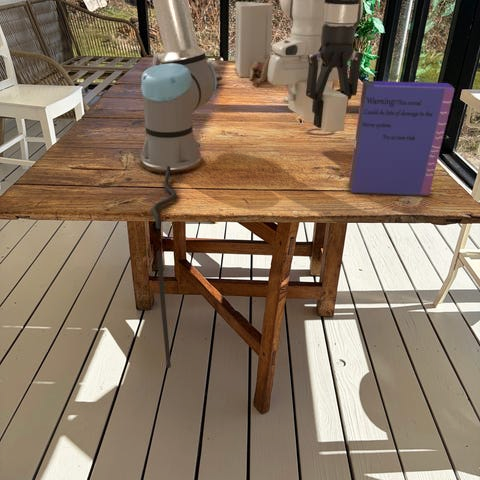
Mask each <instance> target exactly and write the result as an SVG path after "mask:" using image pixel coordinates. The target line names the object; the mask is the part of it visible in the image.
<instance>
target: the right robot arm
mask: <svg viewBox="0 0 480 480" xmlns="http://www.w3.org/2000/svg"><path fill="white" fill-rule="evenodd" d="M279 4H280V9H281V12H282V13H283V14H284V16H285V17H286V18H288V19H289V20H290V22H291V23H292V27H291V30H290V36H289V37H287V38H285V39H282V40H280V41H276V42H274V43H273V44H271V52H272V53H273V54H271V58H270V61H269V66H268V80H267V82H269V84H271V85H272V86H284V88H285V90H286V92H287V95H286V96H285V97H284V101H285V102H288V103H289V101H295V100H296V94H294V93H293V92H292V90H291V88H293V84H298V82H302V81H307V79H308V69H309V61H308V54H310V53H311V54H314V53H316V52H319V49H320V47H321V34H322V26H323V25H324V24H325V22H324V21H323V14H324V4H325V0H279ZM363 13H364V1H363V0H359V6H358V15H357V22H356V23H355V24H354V26H355V27H357V26H358V25H359V24H360V23H361V20H362V17H363ZM319 60H320V61H319V62H318V73H317V80H318V77H319V74H320V71H321V65H322V62H323V61H322V59H321V57H320V59H319ZM358 79H363V77H362V76H361V75H360V74H359V78H358ZM348 80H349V77H348ZM334 82H339V76H338V70H337V67H335V68H333V69H332V72H331V73H330V74H329V77H328V80H327V83H326V86H328V87H330V88H332V89H334ZM335 90H336V91H338V92H340V88H338V89H335Z"/></svg>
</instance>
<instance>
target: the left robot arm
mask: <svg viewBox="0 0 480 480" xmlns="http://www.w3.org/2000/svg"><path fill="white" fill-rule="evenodd" d="M151 2H152V5H153V6H152V7H153V10H154V13H155V17H156V21H157V26H158V29H159V34H160V38H161V42H162V47H163V50H164V53H165V54H164V56H163V57H162V59H161V64H159V65H158V66H157V65H156V66H153V65H152V66H150V67H148V68H147V69H145V70H144V71H143V73H142V74H141V86H140V91H141V92H140V93H141V95H142V97H141V98H142V106H143V115H144V125H145V138H144V142H143V146H142V150H141V154H140V162H141V166H142V168H144V169H145V170H146V171H149V172H151V173H156V174H163V175H164V174H165V176H164V180H163V187H164V189H165V191H167V192H168V193H169V194H171V196H169V197H167V198H165V199H162V200H160V201H158V202H157V203H155V204H154V205H153V206H152V208H151V213H152V215H153V217H154V220H155V227H156V230H161V228H162V221H161V217H160V214H159V213H158V209H159V208H160V207H162V206H164V205H165V206H166V205H167V204H169V203H171V202H173V201H174V200H175V199H176V198H177V192H176V191H175V190H174V189H173V188H171V187H170V186H169V179H170V175H172V174H173V175H175V174H182V173H187V172H190V171H193V170H195V169H197V168H198V167H199V166H201V163H202V154H201V151H200V149H201V144H200V143H198V142H197V141H196V137H195V135H194V130H193V129H194V126H193V112H195V111H197V109H199V108H201V107H202V106H204V105H206V104H207V103H208V102H209V101H210V100H211V98H212V97H213V96H214V94H215V92H216V90H217V84H218V81H217V78H216V77H217V75H216V72H215V69H214V68H213V65H212V64H209V63H208V62H207V60H208V59H207V55H206V51H205V50H204V49H203V48H201V47H200V46H199V45H198V41H197V36H196V32H195V25H194V22H193V18H192V12H191V8H190V3H189V0H151ZM358 6H359V0H325V4H324V14H323V21H324V22H325V24H324V25H323V26H322V34H321V47H320V49H319V52H316V53H314V54H311V53H310V54H308V61H309V69H308V79H307V88H306V96H307V97H309V98H311V99H313V104H312V112H313V113H314V124H312V125H313V126H314V127H316V128H318V129H319V128H321V124H322V114H323V105H324V101H323V100H321V98H322V95H323V92H324V89H325V86H326V83H327V80H328V77H329V74H330V73H331V72H332V69H333V68H335V67H337V70H338V76H339V80H338V83H339V89H340V91H339V92H340V93H342V94H344V95H346V96H348V101H347V107H348V105H349V100H351V99H352V97H353V96H356V95H357V93H358V86H359V85H358V84H359V79H360V78H359V75H360V70H361V69H360V68H361V63H362V60H363V58H364V53H363V52H361V51H358V50H355V48H354V46H353V45H354V42H355V38H356V29H357V28H356V27H357V26H354V24H355V23H356V22H357V15H358ZM320 57H321V59H322V61H323V62H322V65H321V71H320V74H319V77H318V80H317V73H318V62H319V61H320V60H319V59H320ZM349 60H350V64H349V63H348V61H349ZM348 71H349V73H348ZM348 78H349V80H348ZM316 82H317V83H316ZM347 110H348V108H347V109H346V111H347ZM156 261H157V275H158V287H159V288H158V289H159V299H160V300H159V302H160V310H161V322H162V331H163V332H162V333H163V341H164V353H165V363H166V364H165V366H166V368H167V369H170V368H171V367H172V364H171V362H172V361H171V353H170V351H171V350H170V341H169V329H168V319H167V307H166V306H167V305H166V293H165V283H164V282H165V281H164V266H163V251H162V250H161V251H160V250H156Z"/></svg>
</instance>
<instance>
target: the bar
mask: <svg viewBox="0 0 480 480" xmlns="http://www.w3.org/2000/svg"><path fill="white" fill-rule="evenodd" d="M316 83H317V82H316ZM306 88H307V81H302V82H298V84H293V88H291V90H292V92H293V93H294V94H296V100H295V101H289V102H288V105H287V108H288V109H289V110H290V111H292V112H293V113H295V114H297V116H299V117H301V118H302V119H304V120H305V121H307V122H309V123H310V124H312V125H313V124H314V113H313V112H312V104H313V99H311V98H309V97H307V96H306ZM336 90H337V89H335V88H333V89H332V88H330V87H328V86H325V89H324V92H323V95H322V98H321V100H323V101H324V105H323V114H322V124H321V128H318V129H319V130H320V131H322V132H323V133H333V132H334V133H335V132H343V131H344V130H345V123H346V116H347V110H348V106H347V101H348V102H349V100H348V96H346V95H344V94H342V93H340V91H336ZM346 109H347V110H346Z"/></svg>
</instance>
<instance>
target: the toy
mask: <svg viewBox="0 0 480 480" xmlns="http://www.w3.org/2000/svg"><path fill="white" fill-rule="evenodd" d="M164 54H165V52H162V53H161V52H158V51H157V52H155V53H154V54H153V56H152V66H156V65H157V66H159V65H160V64H162V63H161V59H162V57H163V56H164ZM207 62H208V63H209V65H211V66H212V67H213V66H214V67H215V68H217V67H218V66H219V64H218V62H217V61H216V60H214V59H209V58H208V59H207Z"/></svg>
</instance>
